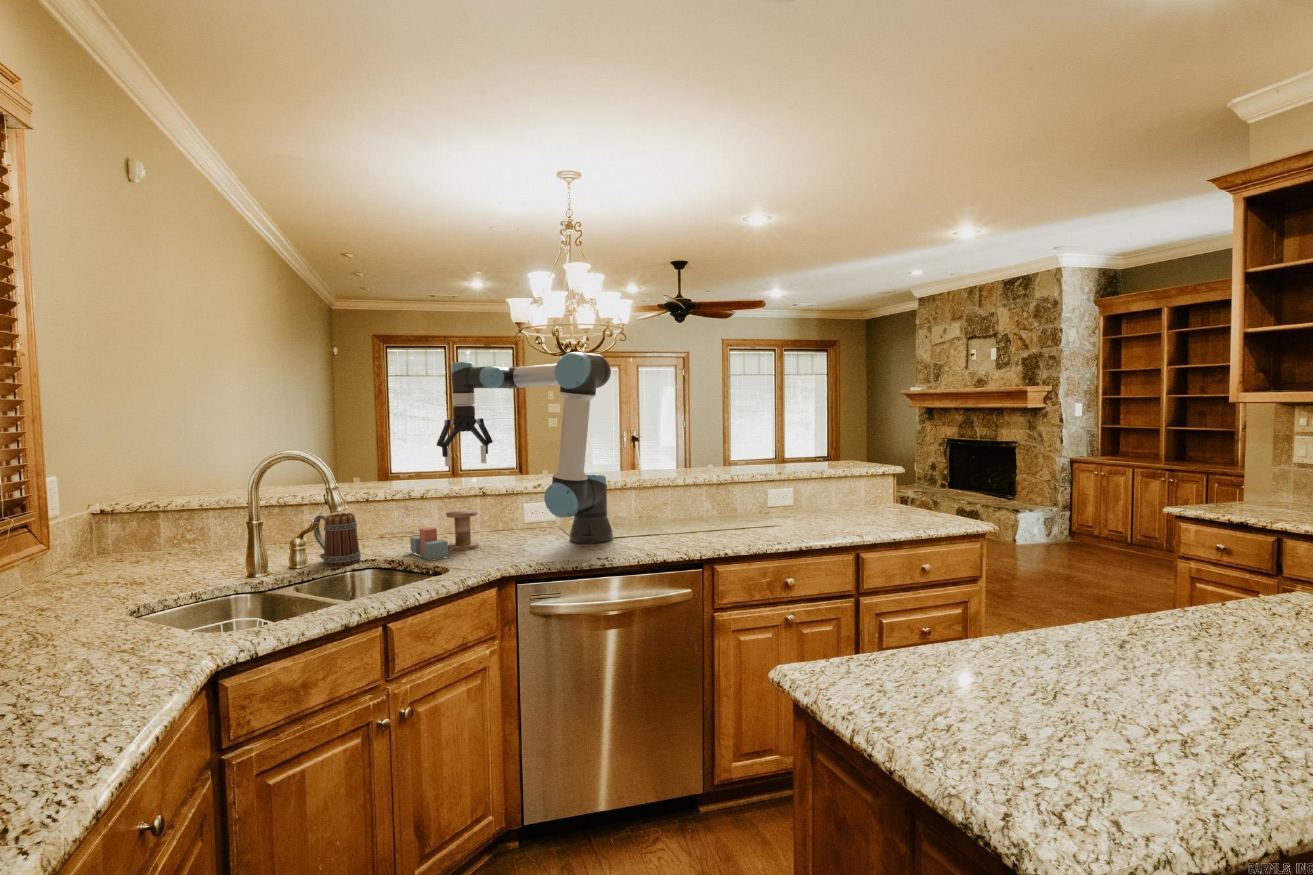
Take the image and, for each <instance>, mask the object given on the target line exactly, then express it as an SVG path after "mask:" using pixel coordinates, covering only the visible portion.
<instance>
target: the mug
mask: <svg viewBox="0 0 1313 875" xmlns="http://www.w3.org/2000/svg"><path fill="white" fill-rule="evenodd" d="M321 520H323V521H324V526H323V531H324V538H323V536H322V534H321V531H320V523H321V522H320V521H321ZM315 522H318V526H317V528H315V529H314V530H313V529H312V530H313V534H314V537H315V540H316V542H317V543H318V544H319V545H320V547H321V548H322V550H323V551H324V552H322V553H319V557H320V559H322V560H323V563H324V565H325V566H327V567H345V566H351V565H353V564H354V565H355V564H358V563H359V562H360V561H361V556H362V555H361V550H360V546H359V544H360V543H359V538H358V530H357V527H358V524H357V520H356V515H355V513H354V512H353V513H351V512H347V513H346V512H341V513H334V514H333V513H332V514H329V515H327V514H319V515H317V516H316V517H314V520H313V523H312V525H313V524H314V523H315Z"/></svg>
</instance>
